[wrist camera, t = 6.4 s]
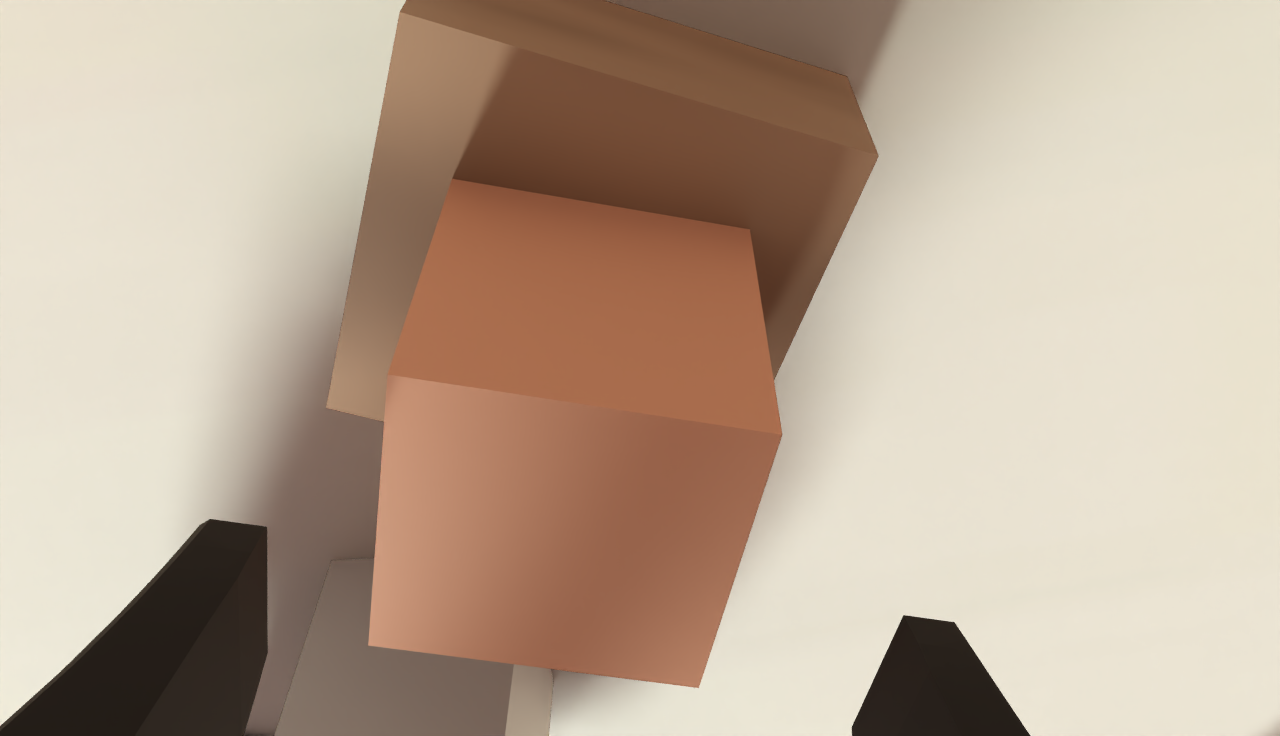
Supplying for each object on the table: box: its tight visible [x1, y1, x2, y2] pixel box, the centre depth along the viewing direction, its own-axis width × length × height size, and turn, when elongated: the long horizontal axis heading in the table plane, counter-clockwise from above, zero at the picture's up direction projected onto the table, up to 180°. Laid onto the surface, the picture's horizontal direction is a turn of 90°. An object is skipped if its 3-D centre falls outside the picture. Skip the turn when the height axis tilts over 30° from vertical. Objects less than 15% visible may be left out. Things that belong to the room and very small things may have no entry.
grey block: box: [274, 558, 554, 736], centre depth 25 cm, size 4×4×5 cm
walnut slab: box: [326, 0, 879, 422], centre depth 19 cm, size 7×7×4 cm
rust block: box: [368, 179, 782, 688], centre depth 16 cm, size 4×4×5 cm
